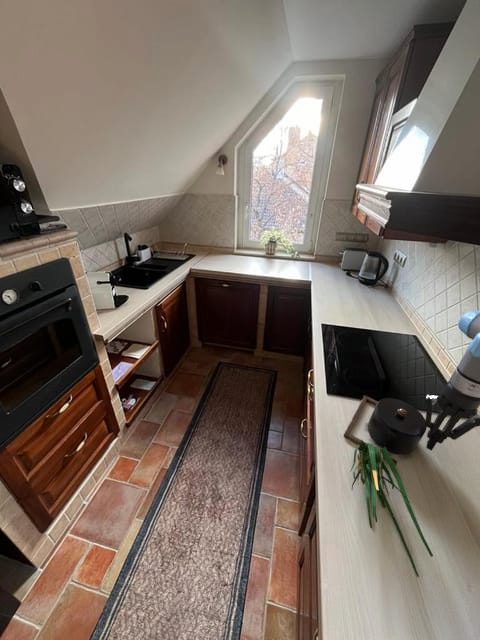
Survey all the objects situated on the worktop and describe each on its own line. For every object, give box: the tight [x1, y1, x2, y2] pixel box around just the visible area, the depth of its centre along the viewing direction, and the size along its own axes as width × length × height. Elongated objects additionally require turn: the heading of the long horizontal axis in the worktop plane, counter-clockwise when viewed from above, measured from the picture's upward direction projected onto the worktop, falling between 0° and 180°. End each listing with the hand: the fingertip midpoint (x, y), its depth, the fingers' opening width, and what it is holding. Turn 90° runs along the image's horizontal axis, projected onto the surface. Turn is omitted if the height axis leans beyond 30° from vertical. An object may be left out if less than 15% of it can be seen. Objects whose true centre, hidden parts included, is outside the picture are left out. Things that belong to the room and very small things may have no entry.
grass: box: [349, 439, 434, 578], centre depth 62 cm, size 18×15×25 cm
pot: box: [367, 397, 428, 456], centre depth 80 cm, size 14×16×12 cm
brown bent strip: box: [343, 395, 398, 466], centre depth 85 cm, size 15×22×1 cm
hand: (429, 445), depth 76 cm, fingers closed
